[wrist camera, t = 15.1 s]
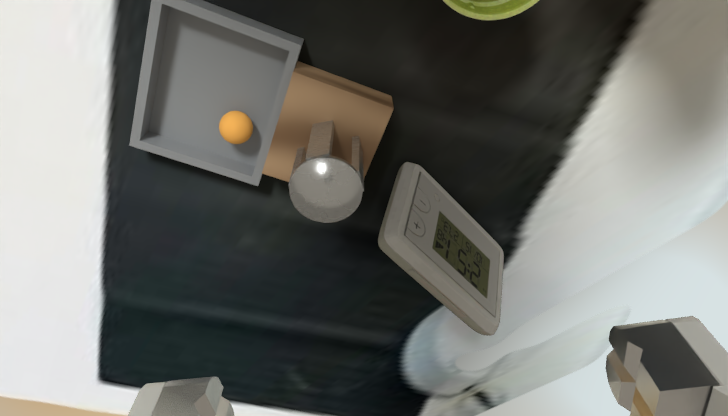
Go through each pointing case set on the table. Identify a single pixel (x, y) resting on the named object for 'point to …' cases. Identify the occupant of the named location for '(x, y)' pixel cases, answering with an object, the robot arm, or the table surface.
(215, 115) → the tray
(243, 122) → the ball
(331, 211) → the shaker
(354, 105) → the stand
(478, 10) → the plant pot
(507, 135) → the table surface
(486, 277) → the digital clock
